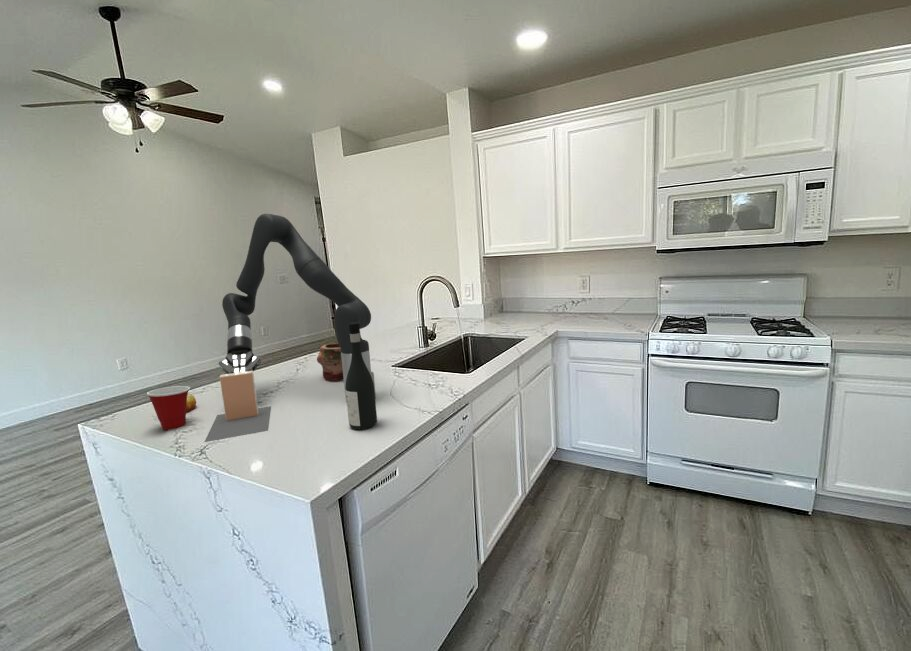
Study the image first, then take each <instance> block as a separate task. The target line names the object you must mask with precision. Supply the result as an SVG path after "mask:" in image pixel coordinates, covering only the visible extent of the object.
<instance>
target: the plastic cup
mask: <svg viewBox="0 0 911 651" xmlns="http://www.w3.org/2000/svg"><path fill="white" fill-rule="evenodd" d="M190 390H191V386H188V385H187V386H186V385H175V386H167V387H159V388H156V389H152V390H150V391H147V393H146V395H147V396H148V398H149V400H150V402H151V404H152V407H153V409H154V411H155V414H156V417H157V419H158V421H159V423H160V426H161V428H162V429H163V431H167V432H168V431H169V430H173V429H177V428H180V427H183V426H184V425H185V424H186V423H187V421H186V420H187V418H186V416H187V413H186V406H187V395H188V393H189V391H190Z"/></svg>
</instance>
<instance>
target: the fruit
mask: <svg viewBox="0 0 911 651" xmlns="http://www.w3.org/2000/svg"><path fill="white" fill-rule="evenodd" d="M196 406H197V400H196V398H195V396H194V395H193V394H192V393H189V392H188V395H187V406H186V414H187V413H188V412H190V411H193V410H194V408H196Z"/></svg>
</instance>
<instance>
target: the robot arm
mask: <svg viewBox="0 0 911 651" xmlns="http://www.w3.org/2000/svg"><path fill="white" fill-rule="evenodd" d="M270 243H278V244H279V245H281V246H282V247H283V248H284V249H285V251H287V252H288V254H289V255H290V256H291V258H292V263H293V266H294V267H293V268H294V270H295V272H296V274H297V275H298V276H299V277H300V278H301V280H302V281H303V282H304V283H305V284H306V286H308V287H309V288H310V289H311V290H313V291H315V292H316V293H318V294H320V295H321V296H323V297H325V298H327V299H328V300H330V301H331V302H333V303H334V304H335V305H337V307H336V309H335V311H334V316H333V320H334V321H333V322H334V330H335V335H336V336H335V337H336V340H337V343H338V344H339V346H340V349H341V357H342V368H343V378H344V380H343V386H344V395H345V398H346V390H345V386H346V378H347V374H348V371H349V368H350V364H351V359H352V350H351V340H350V331H349V327H348V324H349V323H354V322H358V323H359V324H360V330H359V331H360V332H361V330H362V329H364V328H366V327H368V326H369V325H370V324H371V321H372V313H371V311H370V309H369V307H368V305H366V303H364V301H362V299H360V298H359V297H358V296H357V295H355V294H354V293H353V292H352V291H351V290H350V289H349V288H348V287H347V286H346V285H345V284H344V283H343V281H341V280H340V278H339V277H338V276H337V275H336V274H335V273H334V272H333V271H332V269H331V268H330V267H329V266H328V265H327V264H326V263H325V261H323V259H322V258H321V257H320V256H319V255H318V254H317V253H316V252H315V251H314V250H313V249H312V247H311V246H309V244H308V243H307V242H306V241H305V240H304V239H303V237H302V236H301V234H300V233H299V232H298V231H297V230H296V228H295V226H294V225H293V224H292V222H291V221H290V220H289V219H287V217H285V216H283V215H279V214H272V213H262V214H260V215H259V216H258V217H257V218H256V220H255V222H254V225H253V230H252V233H251V238H250V242H249V247H248V252H247V255H246V259H245V262H244V265H243V267H242V270H241V272H240V275H239V276H238V279H237V281H236V285H235V286H236V288H237V290H238V291H240V292H241V293H243V294H245V295H242V294H239V293H234V292H228V293H227V294H225V295H224V296H223V298H222V304H221V306H222V309H223V312H224V314H225V318H226V320H227V338H226V340H227V343H226V347H227V350H226V351H227V352H226V356H225V359H224V360H223V361H221V360H220V361H218V365H219V368H220V369H221V370H223V371H224V372H225V374H231V373H238V372H246V371H253V372H254V371H255V370H256V369H257V368H258V367H259V365H260V364H261V363H262V362H261V361H262V360H261V357H260V356H255V355H254V353H253V336H252V335H253V334H252V327H251V326H252V324H251V318H250V317H249V316H250V315H252V314H253V313H254V312H255V309H256V300H257V299H256V297H257V293H258V289H259V288H260V286H261V283H262V281H263V278H264V275H265V271H266V270H265V252H266V249H267V248H268V246H269V244H270ZM360 343H361V353H362V357H363V360H364V362H365V365H366V367H367V369H368V370H369V372H370V374H371V377H372V380H373V383H374V390H375V391H376V387H375V386H376V384H375V383H376V382H375V373H374V371H372V365H371V357H370V356H371V353H370V344H369V342H368V340H366V339H363V338H362V336H361V334H360ZM229 366H231V367H232V368H233V369H234V370H233V369H232V368H230V367H229ZM376 395H377V394H376V393H375V400H376V398H377V396H376ZM345 402H346V404H347V400H346V399H345Z"/></svg>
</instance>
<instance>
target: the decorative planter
mask: <svg viewBox="0 0 911 651" xmlns="http://www.w3.org/2000/svg"><path fill="white" fill-rule="evenodd" d="M317 354H318V355H317V358H316V361H317V363H318V364H319V365H321V367H322V376H323V379H324V381H327V382H334V383H335V382H340V381H344V378H343V368H342V357H341V349H340V346H339V344H338V342H337V343H336V342H335V343H328V344H324V345H322V346H320V348H319V351H318V353H317Z"/></svg>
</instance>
